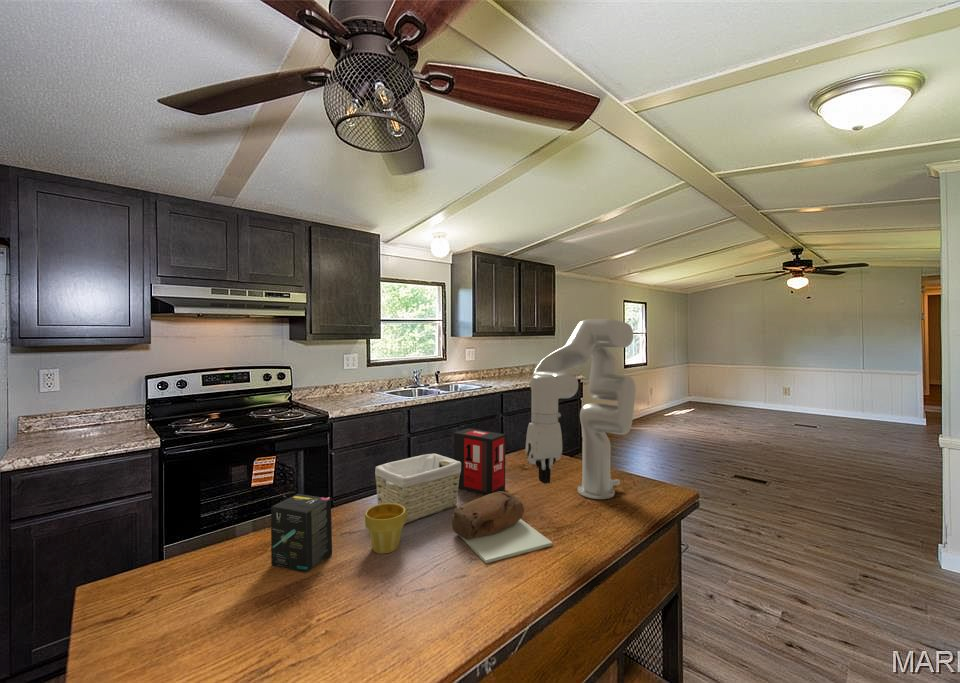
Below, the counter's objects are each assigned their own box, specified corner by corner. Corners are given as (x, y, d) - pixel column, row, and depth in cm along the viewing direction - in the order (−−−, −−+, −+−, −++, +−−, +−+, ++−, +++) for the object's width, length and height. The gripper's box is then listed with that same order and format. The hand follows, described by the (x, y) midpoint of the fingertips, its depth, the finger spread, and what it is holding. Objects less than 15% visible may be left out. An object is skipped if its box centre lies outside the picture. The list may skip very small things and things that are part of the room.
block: (499, 510, 134) (449, 532, 120) (499, 487, 133) (449, 506, 120) (525, 523, 126) (475, 547, 112) (526, 498, 125) (475, 519, 112)
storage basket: (432, 492, 151) (432, 451, 151) (463, 506, 140) (463, 461, 139) (372, 512, 135) (372, 465, 134) (401, 529, 123) (401, 478, 123)
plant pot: (380, 562, 105) (380, 523, 105) (357, 548, 112) (357, 511, 112) (413, 547, 113) (413, 510, 113) (390, 534, 120) (390, 499, 120)
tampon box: (333, 554, 109) (332, 497, 109) (307, 574, 100) (306, 512, 100) (298, 547, 112) (297, 492, 112) (270, 565, 104) (269, 505, 103)
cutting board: (518, 520, 129) (518, 517, 129) (552, 545, 114) (552, 542, 114) (457, 533, 120) (457, 531, 120) (485, 563, 105) (485, 560, 105)
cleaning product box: (505, 489, 154) (505, 434, 154) (491, 497, 147) (491, 439, 146) (468, 480, 163) (468, 428, 163) (453, 487, 156) (453, 432, 156)
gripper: (558, 413, 129) (557, 473, 130) (515, 418, 122) (515, 481, 123) (574, 418, 122) (573, 481, 123) (529, 423, 116) (529, 490, 116)
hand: (544, 481), depth 123 cm, fingers closed
